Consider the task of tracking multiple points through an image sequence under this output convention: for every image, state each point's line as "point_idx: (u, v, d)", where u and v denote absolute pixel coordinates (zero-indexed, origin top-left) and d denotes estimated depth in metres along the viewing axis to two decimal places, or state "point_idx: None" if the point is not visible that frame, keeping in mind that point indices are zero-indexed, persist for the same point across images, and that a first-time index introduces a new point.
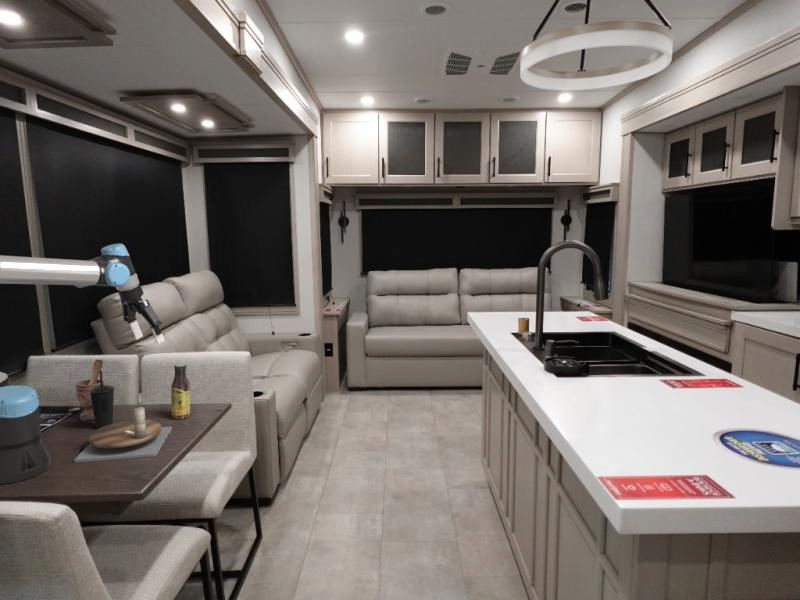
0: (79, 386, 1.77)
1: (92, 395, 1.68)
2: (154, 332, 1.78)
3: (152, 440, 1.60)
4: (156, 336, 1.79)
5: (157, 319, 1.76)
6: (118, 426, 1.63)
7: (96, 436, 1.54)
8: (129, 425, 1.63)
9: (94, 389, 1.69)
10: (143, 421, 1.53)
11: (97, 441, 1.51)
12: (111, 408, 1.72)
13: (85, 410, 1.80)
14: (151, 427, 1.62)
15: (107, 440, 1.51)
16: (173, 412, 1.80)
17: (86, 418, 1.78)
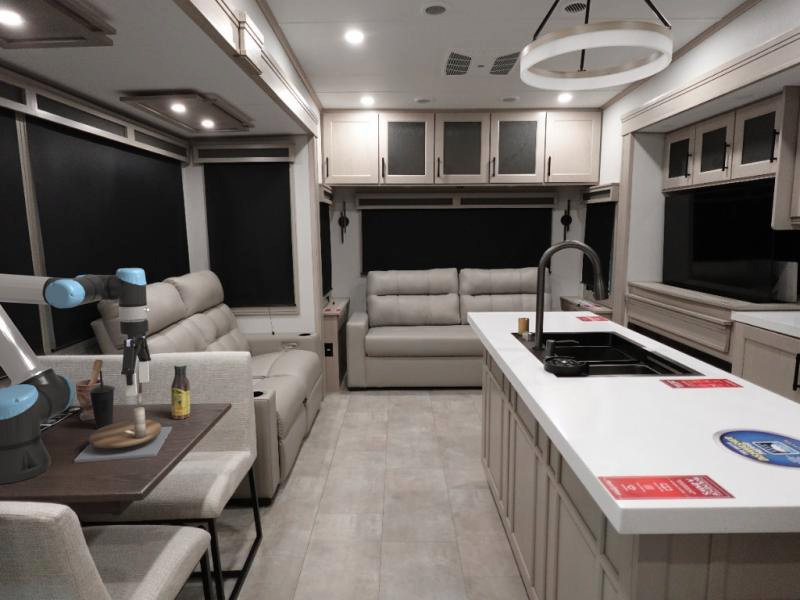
0: (79, 386, 1.77)
1: (92, 395, 1.68)
2: None
3: (152, 440, 1.60)
4: (127, 386, 1.45)
5: (128, 366, 1.42)
6: (118, 426, 1.63)
7: (96, 436, 1.54)
8: (129, 425, 1.63)
9: (94, 389, 1.69)
10: (143, 421, 1.53)
11: (97, 441, 1.51)
12: (111, 408, 1.72)
13: (85, 410, 1.80)
14: (151, 427, 1.62)
15: (107, 440, 1.51)
16: (173, 412, 1.80)
17: (86, 418, 1.78)
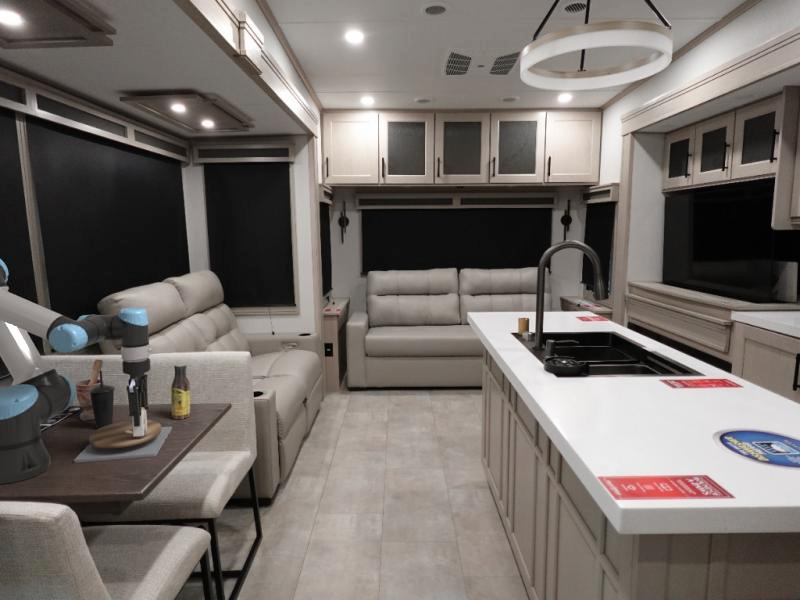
0: (79, 386, 1.77)
1: (92, 395, 1.68)
2: (133, 421, 1.51)
3: (152, 440, 1.60)
4: (134, 427, 1.51)
5: (135, 410, 1.48)
6: (118, 426, 1.63)
7: (96, 436, 1.54)
8: (129, 425, 1.63)
9: (94, 389, 1.69)
10: (143, 421, 1.53)
11: (97, 441, 1.51)
12: (111, 408, 1.72)
13: (85, 410, 1.80)
14: (151, 427, 1.62)
15: (107, 440, 1.51)
16: (173, 412, 1.80)
17: (86, 418, 1.78)
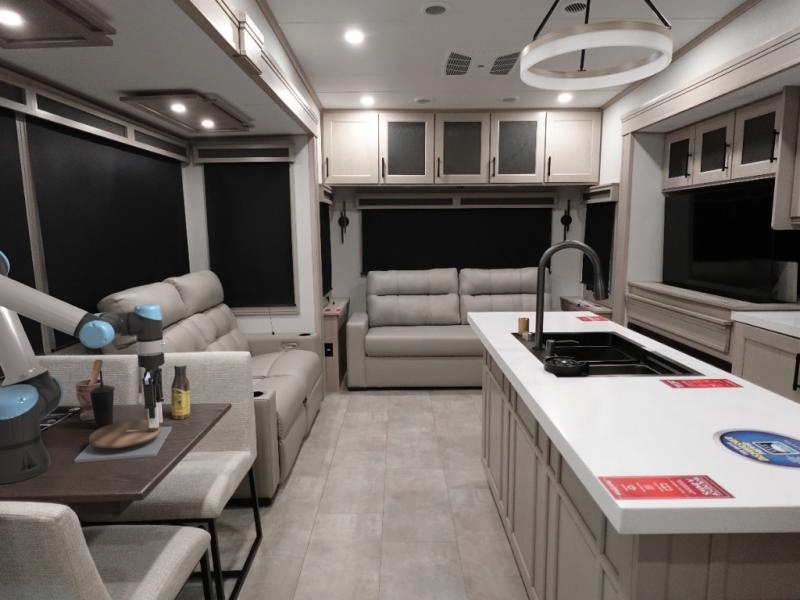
0: (79, 386, 1.77)
1: (92, 395, 1.68)
2: None
3: (152, 440, 1.60)
4: (149, 419, 1.57)
5: (150, 402, 1.54)
6: (106, 431, 1.58)
7: (104, 441, 1.51)
8: (117, 428, 1.61)
9: (94, 389, 1.69)
10: None
11: (116, 442, 1.50)
12: (111, 408, 1.72)
13: (85, 410, 1.80)
14: (145, 423, 1.65)
15: (125, 439, 1.52)
16: (173, 412, 1.80)
17: (86, 418, 1.78)
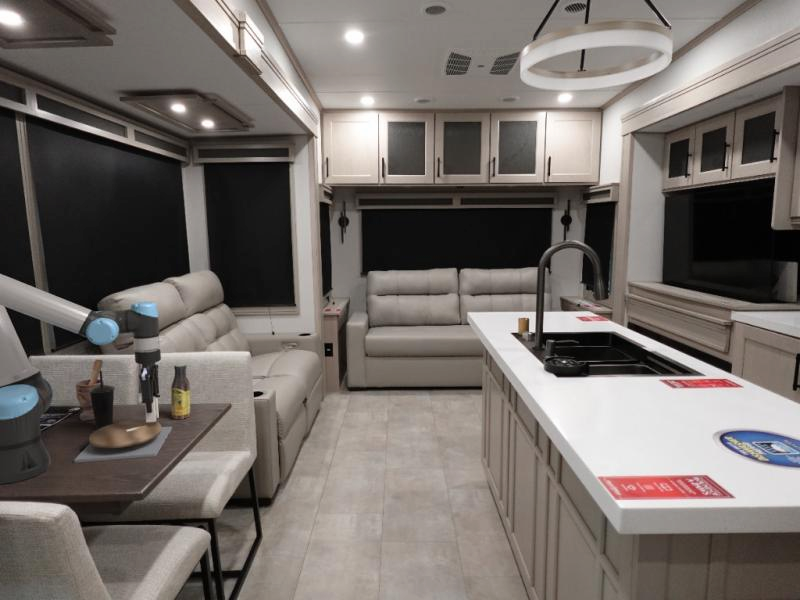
0: (79, 386, 1.77)
1: (92, 395, 1.68)
2: None
3: (152, 440, 1.60)
4: (147, 413, 1.62)
5: (147, 397, 1.58)
6: (103, 436, 1.54)
7: (123, 441, 1.51)
8: (110, 432, 1.58)
9: (94, 389, 1.69)
10: None
11: (140, 438, 1.53)
12: (111, 408, 1.72)
13: (85, 410, 1.80)
14: (129, 423, 1.65)
15: (143, 435, 1.56)
16: (173, 412, 1.80)
17: (86, 418, 1.78)
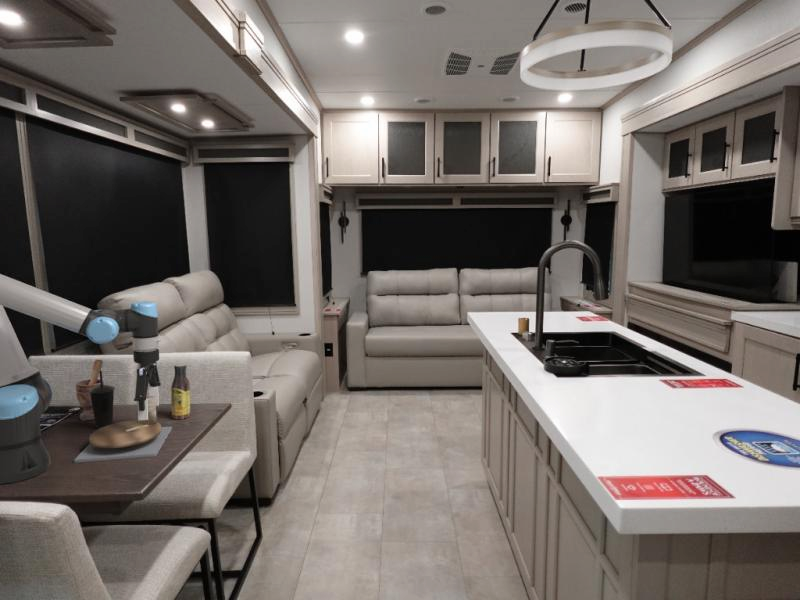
0: (79, 386, 1.77)
1: (92, 395, 1.68)
2: (138, 406, 1.57)
3: (152, 440, 1.60)
4: (139, 411, 1.57)
5: (141, 393, 1.54)
6: (103, 436, 1.54)
7: (124, 440, 1.51)
8: (109, 432, 1.58)
9: (94, 389, 1.69)
10: None
11: (141, 438, 1.53)
12: (111, 408, 1.72)
13: (85, 410, 1.80)
14: (129, 423, 1.65)
15: (144, 434, 1.56)
16: (173, 412, 1.80)
17: (86, 418, 1.78)
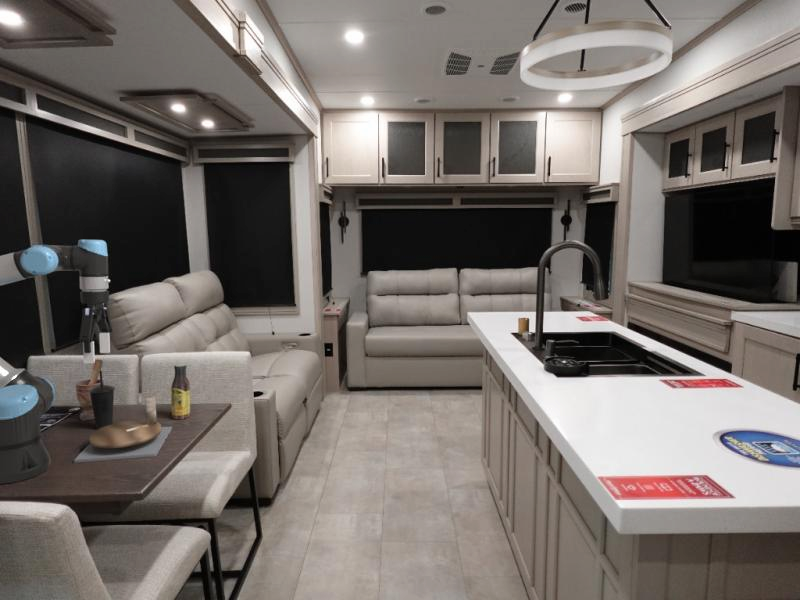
0: (79, 386, 1.77)
1: (92, 395, 1.68)
2: None
3: (152, 440, 1.60)
4: (85, 353, 1.48)
5: (86, 334, 1.46)
6: (103, 436, 1.54)
7: (124, 440, 1.51)
8: (109, 432, 1.58)
9: (94, 389, 1.69)
10: None
11: (141, 438, 1.53)
12: (111, 408, 1.72)
13: (85, 410, 1.80)
14: (129, 423, 1.65)
15: (144, 434, 1.56)
16: (173, 412, 1.80)
17: (86, 418, 1.78)
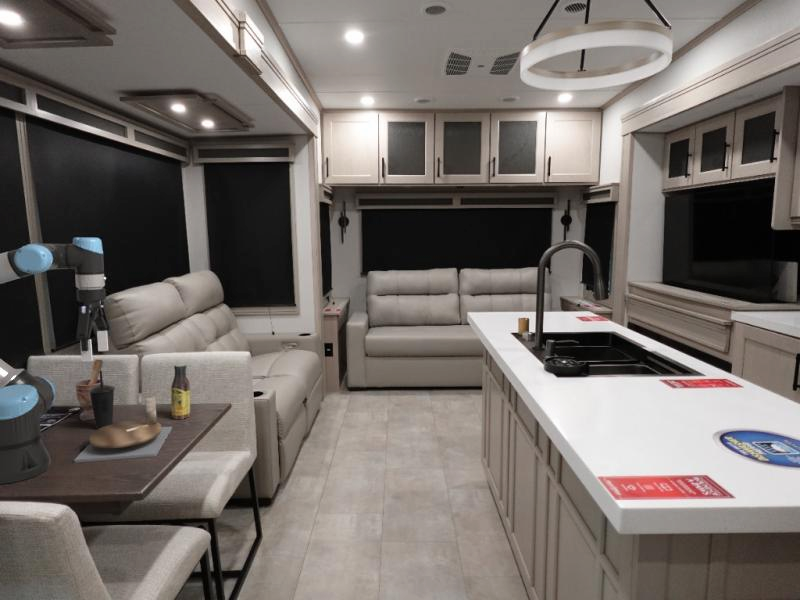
0: (79, 386, 1.77)
1: (92, 395, 1.68)
2: None
3: (152, 440, 1.60)
4: (82, 352, 1.48)
5: (83, 332, 1.45)
6: (103, 436, 1.54)
7: (124, 440, 1.51)
8: (109, 432, 1.58)
9: (94, 389, 1.69)
10: None
11: (141, 438, 1.53)
12: (111, 408, 1.72)
13: (85, 410, 1.80)
14: (129, 423, 1.65)
15: (144, 434, 1.56)
16: (173, 412, 1.80)
17: (86, 418, 1.78)
